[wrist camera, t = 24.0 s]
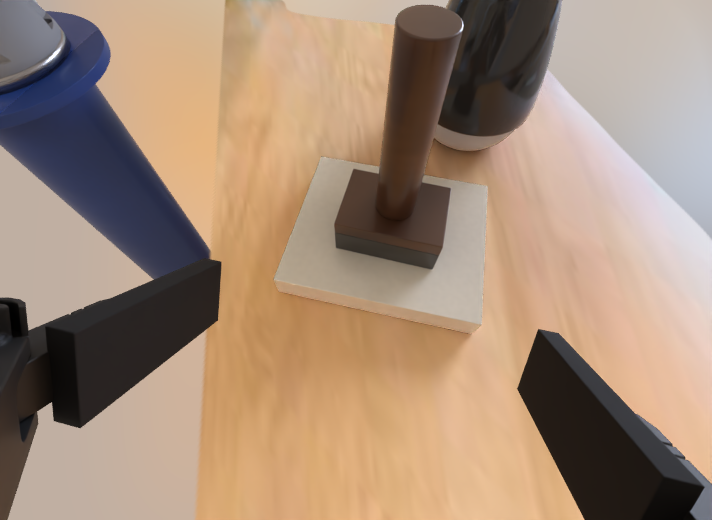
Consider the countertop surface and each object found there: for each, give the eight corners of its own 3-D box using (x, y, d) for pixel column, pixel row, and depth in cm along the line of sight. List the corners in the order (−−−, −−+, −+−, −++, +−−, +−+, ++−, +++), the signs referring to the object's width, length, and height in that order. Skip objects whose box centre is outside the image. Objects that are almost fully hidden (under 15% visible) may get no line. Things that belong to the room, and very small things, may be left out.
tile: (278, 291, 25) (272, 279, 23) (322, 172, 30) (321, 156, 29) (471, 334, 23) (481, 325, 21) (479, 201, 29) (487, 185, 27)
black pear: (533, 130, 34) (653, -77, 20) (473, 185, 30) (572, -25, 17) (451, 85, 37) (508, -118, 24) (388, 129, 33) (413, -82, 20)
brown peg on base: (335, 248, 24) (321, 41, 12) (352, 195, 26) (356, -21, 14) (432, 270, 23) (524, 73, 11) (441, 214, 26) (524, 2, 14)
